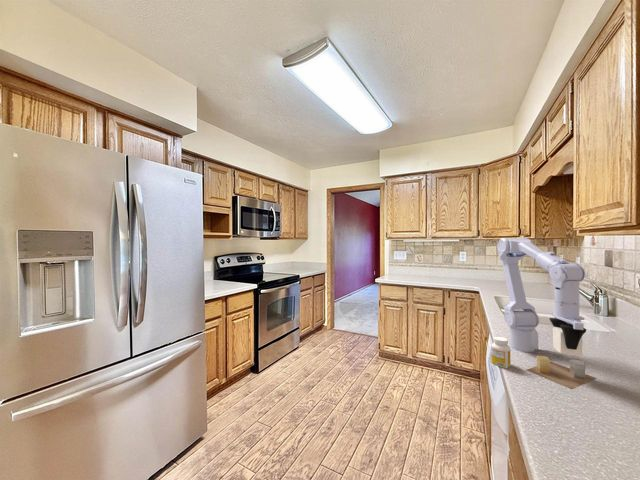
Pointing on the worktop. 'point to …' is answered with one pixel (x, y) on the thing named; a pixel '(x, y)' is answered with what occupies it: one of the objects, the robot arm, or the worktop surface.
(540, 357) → the post
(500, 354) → the supplement bottle
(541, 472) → the worktop surface
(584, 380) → the board
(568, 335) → the robot arm
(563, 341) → the cream rectangular block
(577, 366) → the post
